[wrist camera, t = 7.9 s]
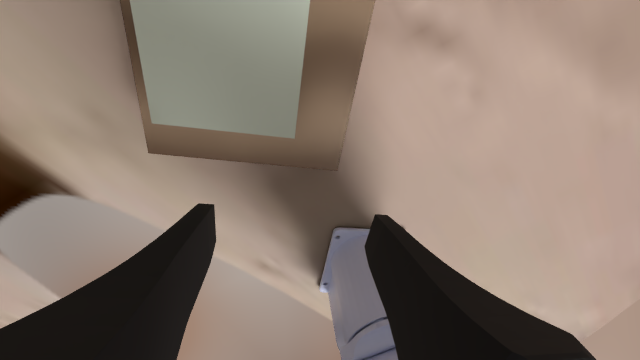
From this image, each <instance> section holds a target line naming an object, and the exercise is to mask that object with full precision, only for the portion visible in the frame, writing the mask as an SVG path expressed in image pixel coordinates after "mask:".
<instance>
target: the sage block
mask: <svg viewBox="0 0 640 360" xmlns="http://www.w3.org/2000/svg"><path fill="white" fill-rule="evenodd" d="M130 5H131V10H132V16H133V22H134V27H135V33H136V38H137V44H138V50H139V55H140V61H141V66H142V72H143V78H144V83H145V89H146V94H147V100H148V106H149V111H150V117H151V122H152V123H153V124H162V125H171V126H181V127H190V128H199V129H209V130H218V131H228V132H237V133H246V134H256V135H265V136H274V137H284V138H293V139H295V130H296V122H297V113H298V104H299V95H300V86H301V77H302V68H303V59H304V50H305V42H306V33H307V24H308V15H309V6H310V0H130Z"/></svg>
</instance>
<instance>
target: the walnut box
mask: <svg viewBox="0 0 640 360" xmlns="http://www.w3.org/2000/svg"><path fill="white" fill-rule="evenodd" d="M120 3H121V8H122V14H123V19H124V25H125V30H126V35H127V41H128V46H129V51H130V57H131V62H132V68H133V73H134V78H135V84H136V89H137V94H138V100H139V105H140V111H141V116H142V121H143V127H144V132H145V137H146V143H147V148H148V153H152V154H162V155H173V156H184V157H195V158H205V159H216V160H227V161H237V162H248V163H259V164H269V165H280V166H291V167H302V168H312V169H323V170H334V171H337V169H338V164H339V160H340V155H341V151H342V147H343V142H344V138H345V133H346V129H347V124H348V120H349V115H350V111H351V106H352V102H353V97H354V93H355V88H356V84H357V79H358V75H359V70H360V66H361V61H362V57H363V52H364V48H365V44H366V39H367V35H368V30H369V26H370V21H371V17H372V12H373V8H374V3H375V0H310V6H309V15H308V24H307V33H306V42H305V50H304V59H303V68H302V77H301V86H300V95H299V104H298V113H297V122H296V130H295V139H293V138H284V137H274V136H265V135H256V134H246V133H237V132H228V131H218V130H209V129H199V128H190V127H181V126H171V125H162V124H153V123H152V122H151V117H150V111H149V106H148V100H147V94H146V89H145V83H144V78H143V72H142V66H141V61H140V55H139V50H138V44H137V38H136V33H135V27H134V22H133V16H132V10H131V5H130V0H120Z"/></svg>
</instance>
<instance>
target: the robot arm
mask: <svg viewBox="0 0 640 360" xmlns="http://www.w3.org/2000/svg"><path fill="white" fill-rule="evenodd" d="M336 236H338V237H336ZM215 243H216V231H215V212H214V205H213V204H197V205H196V206H195V207H194V208H193V209H191V210H190V211H189V212H188V213H187V214H186V215H185V216H183V217H182V218H181V219H180V220H179V221H178V222H176V223H175V224H174V225H173V226H172V227H170V228H169V229H168V230H167V231H166V232H164V233H163V234H162V235H161V236H159V237H158V238H157V239H156V240H155V241H153V242H152V243H150V244H149V245H148V246H146V247H145V248H143V249H142V250H141V251H139V252H138V253H137V254H135V255H134V256H132V257H131V258H129V259H128V260H127V261H125V262H123V263H122V264H121V265H119V266H117V267H116V268H114V269H112V270H111V271H109V272H108V273H106V274H104V275H103V276H101V277H99V278H98V279H96V280H94V281H92V282H91V283H89V284H87V285H85V286H83V287H82V288H80V289H78V290H76V291H75V292H73V293H71V294H69V295H67V296H66V297H64V298H62V299H60V300H58V301H56V302H54V303H52V304H50V305H48V306H46V307H44V308H42V309H40V310H38V311H36V312H34V313H32V314H30V315H28V316H26V317H24V318H22V319H20V320H18V321H16V322H14V323H12V324H9V325H7V326H5V327H3V328H1V329H0V360H177V356H178V352H179V349H180V345H181V342H182V339H183V335H184V332H185V328H186V325H187V322H188V319H189V317H190V314H191V311H192V309H193V306H194V303H195V301H196V299H197V296H198V294H199V291H200V289H201V286H202V283H203V281H204V278H205V276H206V273H207V270H208V268H209V265H210V263H211V259H212V255H213V251H214V247H215ZM319 289H320V291H321V292H328V295H329V301H330V307H331V313H332V319H333V325H334V331H335V336H336V342H337V346H338V348H339V350H340V354H341V360H596V359H595V358H594V357H593V356H592V355H591V353H590V352H589V351H588V350H587V349H586V348H585V347H584V346H583V345H582V344H581V343H580V342H579V341H578V340H577V339H576V338H575V337H574V336H573V335H572V334H570V333H568V332H566V331H564V330H562V329H560V328H557V327H555V326H553V325H551V324H549V323H547V322H545V321H542V320H540V319H538V318H536V317H534V316H532V315H530V314H528V313H526V312H524V311H522V310H520V309H518V308H516V307H515V306H513V305H511V304H509V303H507V302H505V301H503V300H502V299H500V298H498V297H496V296H495V295H493V294H491V293H490V292H488V291H486V290H485V289H483V288H481V287H480V286H478V285H476V284H475V283H473V282H472V281H470V280H468V279H467V278H465V277H464V276H463V275H461V274H460V273H458V272H457V271H455V270H454V269H452V268H451V267H450V266H448V265H447V264H445V263H444V262H443V261H442V260H440V259H439V258H438V257H436V256H435V255H434V254H433V253H431V252H430V251H429V250H428V249H426V248H425V247H424V246H423V245H422V244H420V243H419V242H418V241H417V240H416V239H415V238H413V237H412V236H411V235H410V234H409V233H408V232H407V231H405V230H404V229H403V228H402V227H401V226H400V225H399V224H397V223H396V222H395V221H394V220H393V219H391V218H390V217H389V216H388V215H376V214H375V216H374V219H373V222H372V225H371V228H370V229H359V228H335V229H334V231H333V234H332V238H331V242H330V246H329V250H328V254H327V258H326V262H325V266H324V270H323V274H322V278H321V282H320V286H319Z"/></svg>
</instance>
